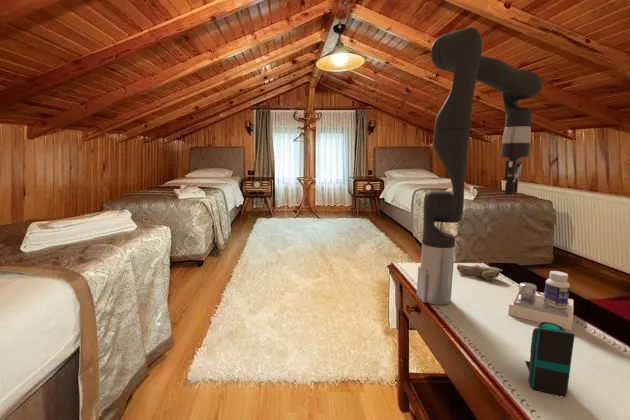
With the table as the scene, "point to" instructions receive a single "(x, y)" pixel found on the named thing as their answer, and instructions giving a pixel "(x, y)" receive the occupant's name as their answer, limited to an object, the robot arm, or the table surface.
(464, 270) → the sculpture
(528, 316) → the scale housing
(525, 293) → the cylinder
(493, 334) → the table surface
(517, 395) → the table surface
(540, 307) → the scale pan
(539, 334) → the dark boxy piece
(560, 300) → the pill bottle
